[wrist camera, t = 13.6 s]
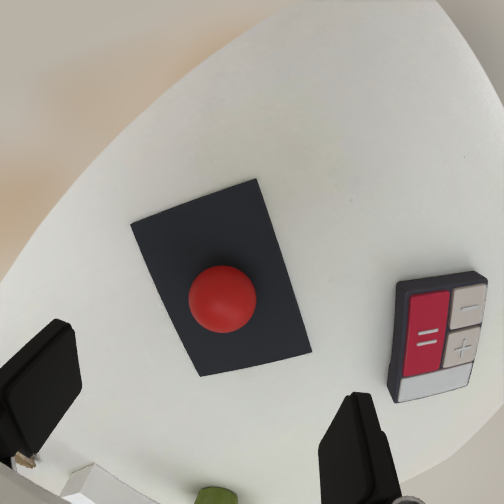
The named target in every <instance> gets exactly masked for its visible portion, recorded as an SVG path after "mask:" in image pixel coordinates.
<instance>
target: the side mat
mask: <svg viewBox="0 0 504 504" xmlns="http://www.w3.org/2000/svg"><path fill="white" fill-rule="evenodd" d="M130 225H131V228H132V230H133V233H134V235H135V238H136V241H137V243H138V245H139V248H140V250H141V253H142V255H143V258H144V260H145V262H146V265H147V267H148V269H149V272H150V274H151V276H152V279H153V281H154V283H155V286H156V288H157V290H158V292H159V294H160V297H161V299H162V301H163V303H164V305H165V308H166V310H167V312H168V314H169V316H170V318H171V320H172V322H173V325H174V327H175V329H176V331H177V333H178V335H179V337H180V339H181V341H182V343H183V345H184V347H185V349H186V351H187V353H188V355H189V357H190V359H191V361H192V363H193V364H194V366H195V368H196V370H197V372H198V374H199V376H200V377H201V376H207V375H212V374H218V373H223V372H228V371H233V370H238V369H243V368H248V367H253V366H257V365H262V364H266V363H271V362H275V361H279V360H283V359H287V358H291V357H295V356H299V355H303V354H307V353H311V352H312V350H311V347H310V343H309V340H308V337H307V333H306V330H305V327H304V324H303V321H302V317H301V314H300V311H299V308H298V304H297V301H296V298H295V295H294V292H293V289H292V285H291V282H290V279H289V276H288V273H287V270H286V267H285V264H284V260H283V257H282V254H281V251H280V248H279V245H278V242H277V239H276V236H275V233H274V230H273V227H272V224H271V221H270V218H269V215H268V212H267V209H266V206H265V203H264V200H263V197H262V194H261V191H260V188H259V185H258V182H257V179H253V180H250V181H247V182H244V183H241V184H238V185H235V186H232V187H229V188H226V189H223V190H221V191H218V192H215V193H212V194H209V195H206V196H204V197H201V198H198V199H195V200H193V201H190V202H187V203H184V204H182V205H179V206H176V207H174V208H171V209H168V210H166V211H163V212H160V213H158V214H155V215H153V216H150V217H148V218H145V219H142V220H140V221H137V222H135V223H132V224H130ZM221 265H225V266H231V267H234V268H237V269H238V270H240V271H242V272H243V273H244V274H245V275H246V276H247V277H248V278H249V279H250V280H251V282H252V284H253V286H254V288H255V292H256V307H255V310H254V313H253V315H252V317H251V318H250V320H249V321H248V322H247V323H246V324H245V325H244V326H242V327H241V328H239V329H238V330H235V331H232V332H228V333H218V332H213V331H210V330H208V329H206V328H204V327H203V326H202V325H200V324H199V323H198V322H197V321H196V319H195V318H194V316H193V315H192V313H191V310H190V307H189V291H190V288H191V285H192V283H193V281H194V280H195V279H196V277H197V276H198V275H199V274H200V273H202V272H203V271H204V270H206V269H208V268H211V267H214V266H221Z"/></svg>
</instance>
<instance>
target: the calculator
mask: <svg viewBox="0 0 504 504" xmlns="http://www.w3.org/2000/svg"><path fill="white" fill-rule="evenodd" d="M487 284H488V280H487V278H485V277H484V276H482V275H480V274H479V273H477V272H475V271H470V272H464V273H458V274H451V275H444V276H437V277H430V278H423V279H416V280H408V281H401V282H398V283H397V285H396V306H395V324H394V338H393V349H392V360H391V363H390V365H389V373H388V381H387V388H388V390H389V392H390V395H391V397H392V399H393V402H394V403H401V402H406V401H411V400H415V399H420V398H424V397H428V396H432V395H436V394H440V393H444V392H448V391H451V390H455V389H458V388H462V387H465V386H467V385H468V382H469V379H470V375H471V371H472V367H473V363H474V359H475V355H476V350H477V346H478V341H479V336H480V331H481V325H482V320H483V314H484V307H485V300H486V293H487Z"/></svg>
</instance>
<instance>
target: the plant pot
mask: <svg viewBox="0 0 504 504" xmlns="http://www.w3.org/2000/svg"><path fill="white" fill-rule="evenodd" d="M194 504H238V500H237V496H236V494H233V493H232V492H231V491H229V490H227V489H223V488H217V487H209V488H207V489H202V490H201V491H200V492H199V494H198V496H197V499H196V501H195V503H194Z"/></svg>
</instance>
